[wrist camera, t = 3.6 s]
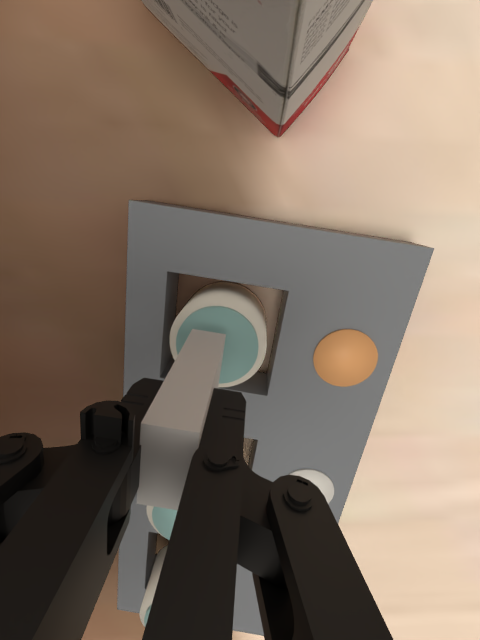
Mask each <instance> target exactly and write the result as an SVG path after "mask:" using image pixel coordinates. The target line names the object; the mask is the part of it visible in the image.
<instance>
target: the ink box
mask: <svg viewBox="0 0 480 640" xmlns="http://www.w3.org/2000/svg"><path fill="white" fill-rule="evenodd" d="M141 1H142V2H143V4H144V5H145V6H146V7H147V8H148V9H149V10H150V11H151V12H152V14H153V15H154V16H155V17H156V18H157V19H158V20H159V21H160V22H161V23H162V24H163V25H164V26H165V27H166V28H167V29H168V30H169V31H170V32H171V33H172V34H173V35H174V36H175V37H176V38H177V39H178V40H179V41H180V42H181V43H182V44H183V45H184V46H185V47H186V48H187V49H188V50H189V51H190V52H191V53H192V54H193V55H194V56H195V57H196V58H198V59H199V60H200V61H201V62H202V63H203V64H204V65H205V66H206V67H207V68H208V69H209V70H210V71H211V72H212V73H213V74H214V75H215V76H216V77H217V78H218V79H219V80H220V81H221V82H222V83H223V84H224V85H225V86H226V87H227V88H228V89H229V90H230V91H231V92H232V93H233V94H234V95H235V96H236V97H237V98H238V99H239V100H240V101H241V102H242V103H243V104H244V105H245V106H246V107H247V108H248V109H249V110H250V111H251V112H252V113H253V114H254V115H255V116H256V117H257V118H258V119H259V120H260V122H262V123H263V124H264V125H265V126H266V127H267V128H268V129H269V130H270V131H271V132H272V133H273V134H274V135H275V136H277V137H280V136H281V135H282V134H283V133H284V132H285V131H286V130H287V129H288V128H289V126H290V125H291V124H292V123H293V122H294V121H295V119H296V118H297V117H298V116H299V115H300V114H301V113H302V111H303V110H304V109H305V108H306V107H307V105H308V104H309V103H310V102H311V101H312V99H313V98H314V97H315V96H316V94H317V93H318V92H319V91H320V89H321V88H322V87H323V85H324V84H325V83H326V81H327V80H328V79H329V77H330V76H331V75H332V73H333V72H334V70H335V69H336V68H337V66H338V65H339V63H340V62H341V60H342V59H343V57H344V56H345V54H346V53H347V52H348V51H349V46H350V44H351V42H352V40H353V38H354V36H355V34H356V32H357V30H358V28H359V26H360V25H361V23H362V21H363V19H364V17H365V15H366V13H367V11H368V9H369V7H370V5H371V3H372V1H373V0H141Z"/></svg>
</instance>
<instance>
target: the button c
mask: <svg viewBox="0 0 480 640" xmlns="http://www.w3.org/2000/svg"><path fill="white" fill-rule="evenodd" d="M192 329H196V330H203V331H209V332H215V333H221V334H226V337H225V344H224V351H223V358H222V365H221V372H220V379H219V386H218V387H230V386H234V385H237V384H240V383H242V382H244V381H246V380H248V379H249V378H250V377H252V376H253V375H254V374H255V373H256V372H257V371H258V369H259V368H260V366H261V365H262V363H263V361H264V358H265V355H266V348H267V330H266V314H265V311H264V308H263V306H262V304H261V302H260V301H259V299H258V298H257V297H256V296H255V295H254V294H253V293H252V292H251V291H250V290H248V289H247V288H245V287H243V286H241V285H238V284H235V283H231V282H217V283H212V284H209V285H207V286H205V287H203V288H201V289H200V290H198V291H197V292H196V293H195V294H194V295H193V296H192V298H191V299H190V300H189V301H188V303H187V304H186V305H185V307H184V308H183V309H182V310H181V312H180V313H179V314H178V316H177V317H176V319H175V320H174V322H173V325H172V327H171V331H170V349H171V353H172V356H173V358H174V360H176V358H177V356H178V354H179V352H180V351H181V349H182V347H183V345H184V343H185V341H186V340H187V338H188V336H189V334H190V332H191V330H192Z"/></svg>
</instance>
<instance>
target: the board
mask: <svg viewBox="0 0 480 640" xmlns="http://www.w3.org/2000/svg"><path fill="white" fill-rule="evenodd" d="M433 250H434V248H430V247H427V246H423V245H419V244H415V243H412V242H406V241H400V240H393V239H387V238H381V237H374V236H368V235H362V234H356V233H349V232H343V231H337V230H330V229H324V228H318V227H311V226H305V225H299V224H293V223H286V222H280V221H274V220H267V219H261V218H255V217H248V216H242V215H236V214H230V213H223V212H217V211H211V210H204V209H198V208H192V207H185V206H179V205H173V204H167V203H160V202H154V201H148V200H129V212H128V247H127V283H126V318H125V354H124V389H123V397H124V396H125V395H126V394H127V392H128V390H129V389H130V387H131V386H132V385H133V384H134V383H136V382H137V381H139V380H141V379H142V378H150V379H156V380H162V381H164V380H165V378H166V376H167V374H168V373H169V371H170V369H171V367H172V365H173V363H174V362H175V360H174V358H172V353H171V349H170V331H171V327H172V325H173V322H174V320H175V313H176V302H177V290H178V278H179V273H181V274H187V275H193V276H200V277H206V278H212V279H218V280H224V281H230V282H236V283H243V284H249V285H255V286H261V287H267V288H273V289H280V290H284V291H283V296H282V301H281V306H280V311H279V316H278V321H277V326H276V331H275V336H274V341H273V346H272V351H271V356H270V361H269V366H268V371H267V374H266V373H260V372H256V373H255V374H254V375H253V376H252V377H250V378H249V379H248V380H246V381H244V382H242V383H240V384H237V385H234V386H230V387H218V389H224V390H230V391H237V392H241V393H242V395H243V396H244V398H245V400H246V412H245V413H246V414H245V428H244V438H250V439H254V441H253V446H252V451H251V456H250V461H249V466H248V467H249V468H250V469H251V470H252V471H253V472H255V473H256V474H258V475H259V476H261V477H263V478H265V479H267V480H270V481H272V482H274V481H275V480H276V479H278V478H279V477H280V476H285V475H296V476H301V477H303V478H305V479H308V480H310V481H311V482H312V483H313V484H315V485H316V486H317V487H318V488H319V489H320V491H321V492H322V493H323V495H324V496H325V498H326V501H327V503H328V505H329V507H330V509H331V511H332V513H333V515H334V517H335V519H336V521H337V523H338V522H339V519H340V516H341V514H342V511H343V508H344V505H345V502H346V499H347V496H348V494H349V491H350V488H351V485H352V482H353V479H354V476H355V474H356V471H357V468H358V465H359V462H360V459H361V456H362V453H363V451H364V448H365V445H366V442H367V439H368V436H369V433H370V431H371V428H372V425H373V422H374V419H375V416H376V413H377V411H378V408H379V405H380V402H381V399H382V396H383V393H384V391H385V388H386V385H387V382H388V379H389V376H390V373H391V371H392V368H393V365H394V362H395V359H396V356H397V353H398V350H399V348H400V345H401V342H402V339H403V336H404V333H405V330H406V328H407V325H408V322H409V319H410V316H411V313H412V310H413V308H414V305H415V302H416V299H417V296H418V293H419V290H420V288H421V285H422V282H423V279H424V276H425V273H426V270H427V268H428V265H429V262H430V259H431V256H432V253H433ZM146 507H147V505H142V504H137V493H136V495H135V497H134V500H133V502H132V504H131V515H130V520H129V524H128V526H127V529H126V531H125V533H124V536H123V538H122V541H121V543H120V546H119V567H118V602H117V609H118V610H124V611H129V612H135V613H140V608H141V605H142V602H143V599H144V595H145V592H146V589H147V586H148V582H149V579H150V576H151V572H152V569H153V566H154V563H155V559H156V556H157V555H155V551H156V539H157V533H158V532H157V531H156V530H155V529H154V527H153V526H152V525H151V523H150V521H149V519H148V516H147V508H146ZM233 630H234V631H240V632H245V633H251V634H256V635H262V636H264V633H263V627H262V622H261V617H260V612H259V607H258V602H257V597H256V591H255V586H254V581H253V576H252V572H251V571H249V570H247V569H245V568H244V567H242V566H240V565H238V564H237V572H236V586H235V601H234V616H233Z"/></svg>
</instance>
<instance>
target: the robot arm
mask: <svg viewBox="0 0 480 640" xmlns="http://www.w3.org/2000/svg"><path fill="white" fill-rule="evenodd" d="M225 337H226V334H221V333H215V332H209V331H203V330H196V329H192V330H191V332H190V334H189V336H188V338H187V340H186V341H185V343H184V345H183V347H182V349H181V351H180V352H179V354H178V356H177V358H176V360H175V362H174V363H173V365H172V367H171V369H170V371H169V373H168V374H167V376H166V378H165V380H164V381H162V380H156V379H150V378H142V379H141V380H139V381H137V382H136V383H134V384H133V385H132V386H131V387H130V389H129V390H128V392H127V394H126V395H125V396H124V397H123V399H122V400H121V402H119V401H103V402H97V403H94V404H92V405H90V406H87V407H86V408H85V409H84V410H82V411H81V412H80V422H81V440H80V441H79V442H78V444H76V445H71V446H64V447H52V448H43V444H42V441H41V439H40V438H39V437H37V436H36V435H34V434H30V433H12V434H8V435H4V436H1V437H0V640H81V638H82V636H83V634H84V631H85V629H86V626H87V624H88V621H89V619H90V616H91V614H92V612H93V609H94V607H95V604H96V602H97V599H98V597H99V595H100V592H101V590H102V587H103V585H104V582H105V580H106V577H107V575H108V573H109V570H110V568H111V565H112V563H113V560H114V558H115V555H116V553H117V551H118V548H119V546H120V543H121V541H122V538H123V536H124V533H125V531H126V529H127V526H128V524H129V520H130V515H131V504H132V502H133V500H134V497H135V495H136V493H137V504H142V505H148V506H154V507H160V508H166V509H172V510H177V514H176V518H175V521H174V525H173V529H172V532H171V536H170V540H169V543H168V547H167V551H166V554H165V558H164V562H163V565H162V569H161V572H160V576H159V580H158V583H157V587H156V591H155V594H154V598H153V602H152V605H151V609H150V613H149V616H148V620H147V624H146V627H145V631H144V634H143V638H142V640H232V630H233V616H234V601H235V586H236V572H237V564H238V565H240V566H242V567H244V568H245V569H247V570H249V571H251V572H252V576H253V581H254V586H255V591H256V597H257V602H258V607H259V612H260V617H261V622H262V627H263V633H264V638H265V640H393V638H392V636H391V634H390V632H389V630H388V628H387V626H386V623H385V621H384V619H383V617H382V615H381V613H380V611H379V609H378V607H377V605H376V603H375V601H374V598H373V596H372V594H371V592H370V590H369V588H368V586H367V584H366V582H365V580H364V578H363V576H362V573H361V571H360V569H359V567H358V565H357V563H356V561H355V559H354V557H353V555H352V553H351V551H350V548H349V546H348V544H347V542H346V540H345V538H344V536H343V534H342V532H341V530H340V528H339V526H338V523H337V521H336V519H335V517H334V515H333V513H332V511H331V509H330V507H329V505H328V503H327V501H326V498H325V496H324V495H323V493H322V492H321V491H320V489H319V488H318V487H317V486H316V485H315V484H313V483H312V482H311V481H310V480H308V479H305V478H303V477H301V476H296V475H285V476H280V477H279V478H278V479H276V480H275V481H274V482H272V481H270V480H267V479H265V478H263V477H261V476H259V475H258V474H256V473H255V472H253V471H252V470H251V469H250V468H249V467H248V465H247V464H246V462H245V460H244V458H243V441H244V428H245V414H246V413H245V412H246V400H245V398H244V396H243V395H242V393H241V392H237V391H230V390H224V389H218V386H219V379H220V372H221V365H222V358H223V351H224V344H225Z"/></svg>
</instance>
